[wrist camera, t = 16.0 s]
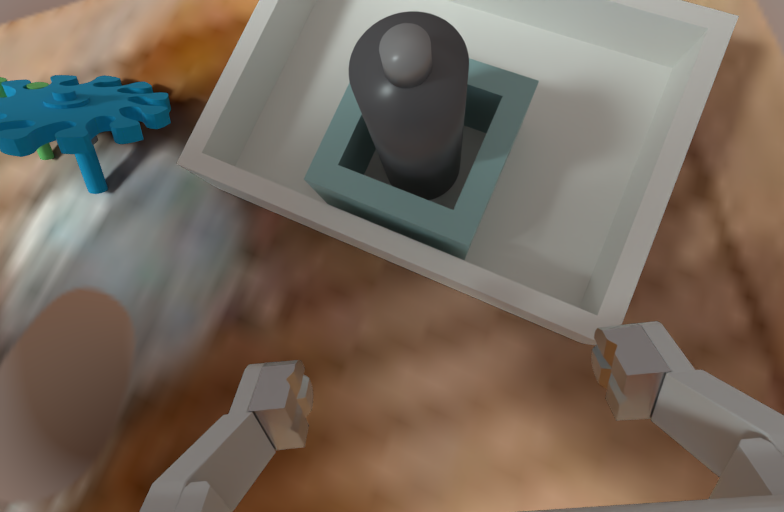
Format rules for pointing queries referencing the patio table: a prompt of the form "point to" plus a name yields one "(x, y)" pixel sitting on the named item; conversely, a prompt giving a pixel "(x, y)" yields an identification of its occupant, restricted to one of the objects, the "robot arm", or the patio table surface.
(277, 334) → the patio table surface
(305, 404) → the robot arm
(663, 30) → the walled box
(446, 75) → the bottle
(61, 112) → the gear
